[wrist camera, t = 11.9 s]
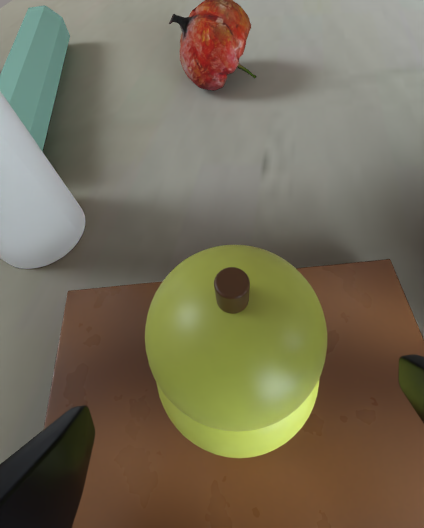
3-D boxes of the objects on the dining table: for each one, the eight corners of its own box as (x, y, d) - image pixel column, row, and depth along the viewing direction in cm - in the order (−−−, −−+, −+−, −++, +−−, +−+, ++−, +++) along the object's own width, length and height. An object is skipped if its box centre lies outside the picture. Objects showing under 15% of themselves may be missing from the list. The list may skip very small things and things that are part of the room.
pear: (328, 377, 16) (488, 272, 6) (240, 489, 14) (245, 637, 4) (233, 295, 18) (225, 124, 8) (148, 380, 16) (1, 290, 6)
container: (17, -14, 35) (-52, 120, 22) (74, 3, 37) (40, 136, 24) (26, 42, 40) (-26, 181, 27) (76, 55, 42) (49, 190, 29)
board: (467, 523, 14) (507, 539, 12) (49, 553, 15) (17, 573, 13) (374, 276, 21) (390, 258, 19) (84, 305, 21) (67, 290, 19)
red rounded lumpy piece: (240, 78, 37) (166, 22, 33) (283, 25, 31) (199, -52, 27) (231, 124, 34) (149, 70, 30) (277, 75, 28) (182, -1, 24)
